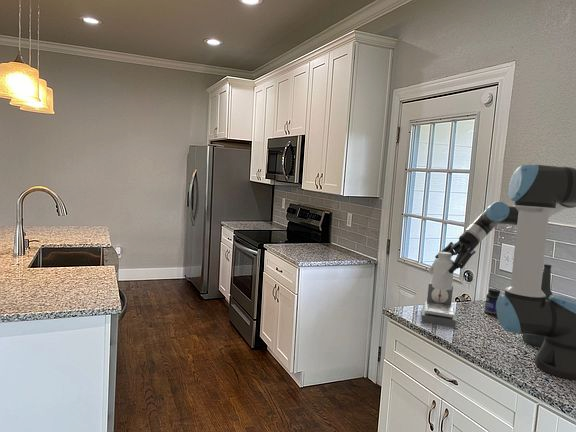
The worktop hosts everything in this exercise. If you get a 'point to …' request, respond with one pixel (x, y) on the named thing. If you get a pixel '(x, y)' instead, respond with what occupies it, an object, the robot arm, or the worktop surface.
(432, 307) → the gray flat rectangular slab
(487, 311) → the pill bottle
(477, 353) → the worktop surface
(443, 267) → the pill bottle
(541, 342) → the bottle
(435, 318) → the scale
